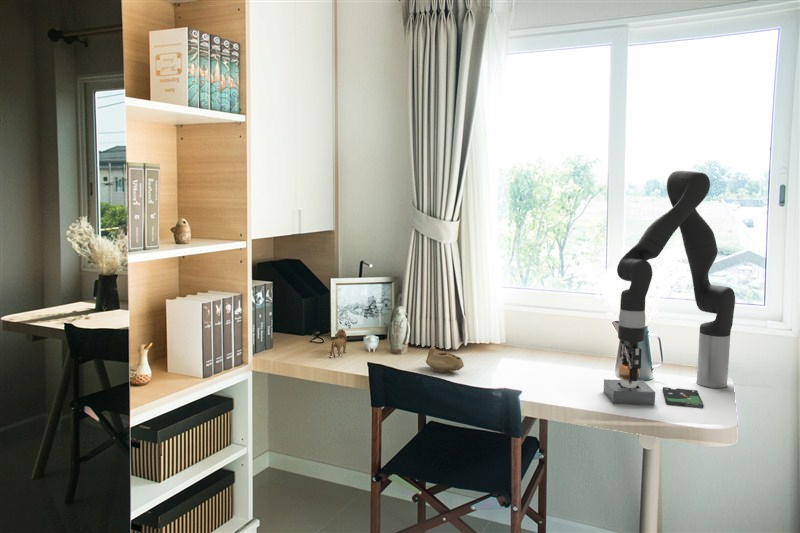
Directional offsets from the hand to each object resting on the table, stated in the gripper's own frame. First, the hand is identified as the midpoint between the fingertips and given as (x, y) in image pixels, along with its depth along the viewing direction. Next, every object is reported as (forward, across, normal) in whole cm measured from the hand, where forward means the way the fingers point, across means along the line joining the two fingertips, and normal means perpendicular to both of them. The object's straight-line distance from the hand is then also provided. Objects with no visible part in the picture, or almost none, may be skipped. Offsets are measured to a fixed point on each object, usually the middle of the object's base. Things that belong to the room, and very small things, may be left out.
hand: (629, 377), depth 196 cm
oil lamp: (+8, +29, +56) cm, 64 cm away
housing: (+8, 0, 0) cm, 8 cm away
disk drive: (+8, +1, -16) cm, 19 cm away
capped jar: (+7, 0, 0) cm, 7 cm away
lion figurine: (+8, +49, +98) cm, 110 cm away
